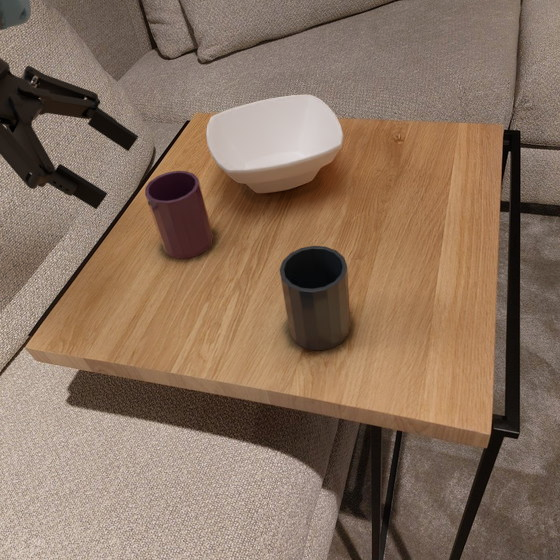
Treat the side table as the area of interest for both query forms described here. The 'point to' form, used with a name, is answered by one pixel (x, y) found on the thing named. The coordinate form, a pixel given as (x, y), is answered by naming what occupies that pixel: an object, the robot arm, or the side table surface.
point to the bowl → (275, 141)
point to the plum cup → (179, 214)
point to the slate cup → (316, 297)
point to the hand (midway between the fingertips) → (118, 171)
